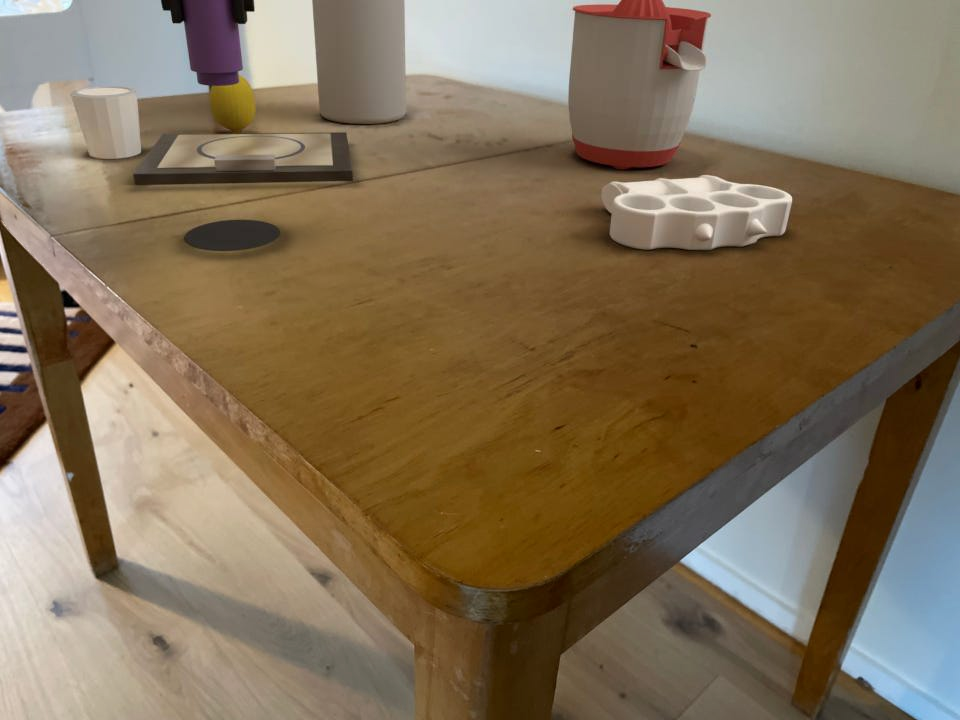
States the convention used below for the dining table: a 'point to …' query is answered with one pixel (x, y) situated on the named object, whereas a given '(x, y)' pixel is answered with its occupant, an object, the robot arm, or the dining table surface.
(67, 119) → the dining table surface
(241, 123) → the lemon
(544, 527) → the dining table surface
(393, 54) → the cylinder vase
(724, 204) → the knuckle duster
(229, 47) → the cylinder
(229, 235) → the coaster
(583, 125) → the citrus juicer
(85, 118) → the white cup
